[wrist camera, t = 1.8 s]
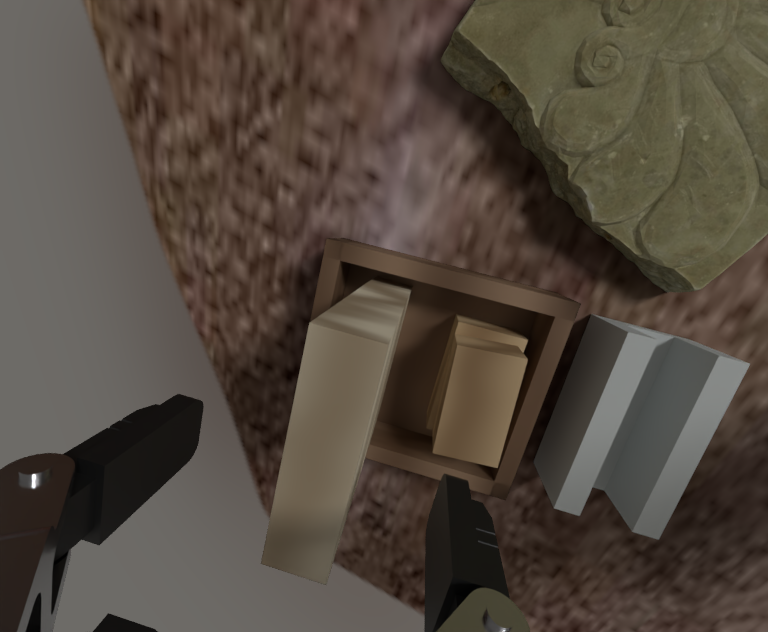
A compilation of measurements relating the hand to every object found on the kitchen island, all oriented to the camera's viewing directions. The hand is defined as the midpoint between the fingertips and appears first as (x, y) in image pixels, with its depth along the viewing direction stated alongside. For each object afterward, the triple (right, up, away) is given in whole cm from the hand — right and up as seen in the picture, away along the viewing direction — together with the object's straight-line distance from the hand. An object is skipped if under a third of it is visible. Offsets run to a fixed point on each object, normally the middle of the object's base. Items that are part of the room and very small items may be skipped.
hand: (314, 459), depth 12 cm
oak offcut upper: (+7, 0, +10) cm, 12 cm away
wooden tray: (+5, +2, +13) cm, 14 cm away
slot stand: (+17, -1, +12) cm, 21 cm away
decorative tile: (+18, +19, +9) cm, 27 cm away
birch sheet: (+2, +3, +13) cm, 13 cm away
